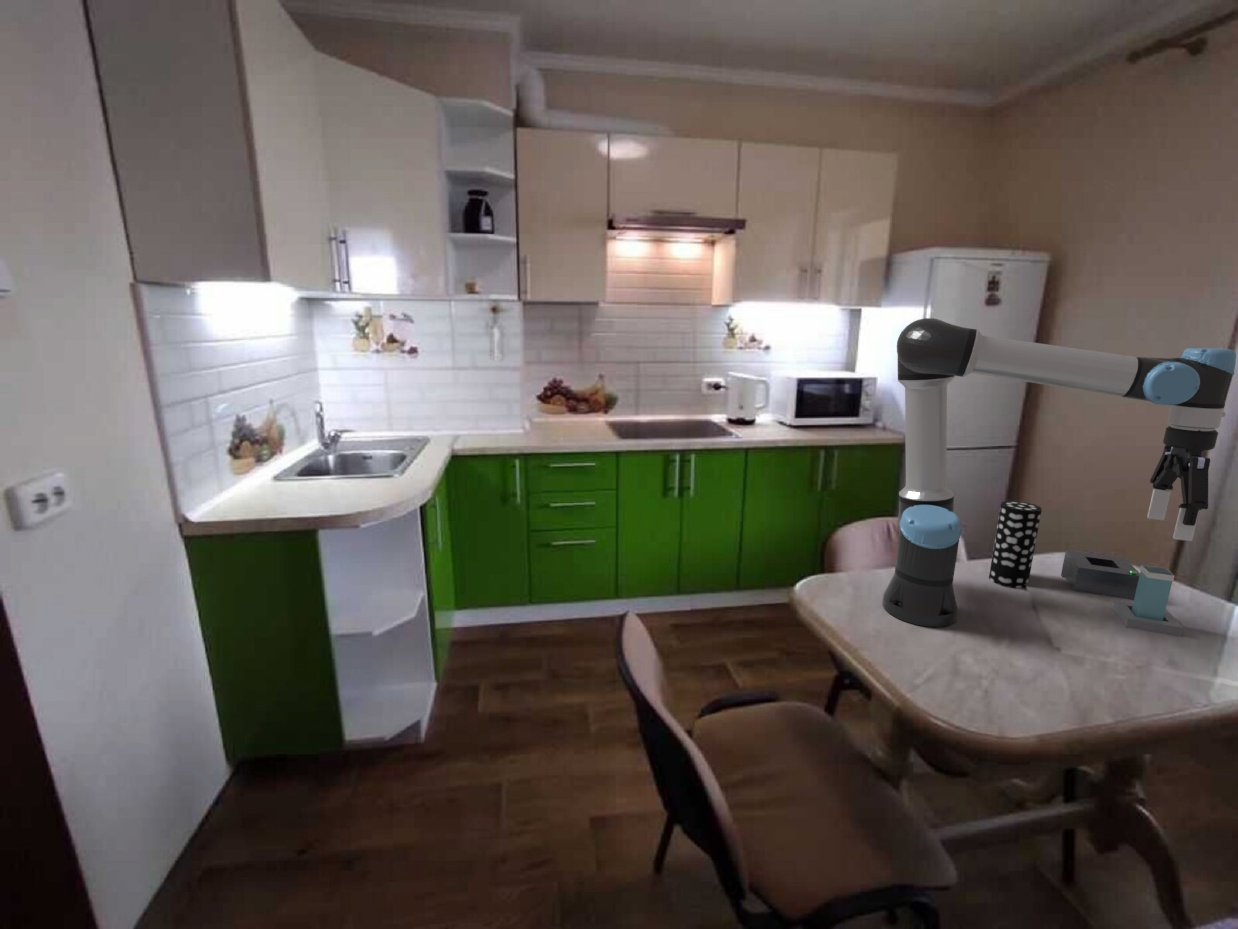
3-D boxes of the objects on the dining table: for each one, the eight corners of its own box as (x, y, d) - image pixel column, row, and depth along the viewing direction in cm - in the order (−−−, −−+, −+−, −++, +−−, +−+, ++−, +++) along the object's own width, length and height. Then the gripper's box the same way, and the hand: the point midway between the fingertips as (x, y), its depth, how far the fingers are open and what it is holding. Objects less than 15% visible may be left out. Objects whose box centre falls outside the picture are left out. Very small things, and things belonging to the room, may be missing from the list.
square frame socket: (1125, 631, 124) (1128, 618, 123) (1111, 612, 132) (1114, 600, 131) (1180, 640, 120) (1183, 627, 120) (1162, 621, 128) (1165, 608, 128)
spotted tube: (1035, 588, 144) (1050, 511, 139) (1001, 588, 144) (1014, 511, 139) (1014, 574, 152) (1026, 500, 147) (981, 574, 152) (993, 500, 147)
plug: (1136, 624, 125) (1148, 572, 122) (1129, 615, 129) (1141, 564, 126) (1161, 628, 123) (1174, 575, 120) (1154, 619, 127) (1166, 568, 124)
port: (1073, 594, 141) (1078, 565, 139) (1060, 575, 151) (1066, 548, 150) (1136, 604, 136) (1143, 574, 134) (1119, 583, 147) (1125, 556, 145)
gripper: (1251, 440, 103) (1221, 552, 108) (1189, 419, 125) (1167, 513, 130) (1195, 436, 106) (1169, 546, 111) (1144, 417, 128) (1124, 509, 133)
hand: (1168, 528), depth 121 cm, fingers open, 13 cm apart
